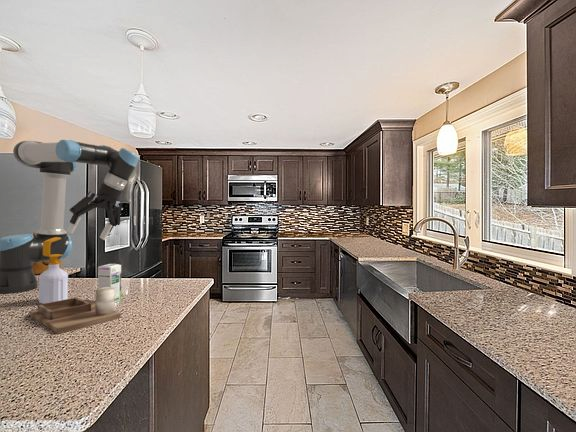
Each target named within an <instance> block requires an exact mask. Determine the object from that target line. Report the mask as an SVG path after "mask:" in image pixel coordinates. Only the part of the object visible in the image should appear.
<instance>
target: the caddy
mask: <svg viewBox="0 0 576 432" xmlns="http://www.w3.org/2000/svg"><path fill="white" fill-rule="evenodd" d="M94 300H95V301H93V300H90V299H88V298H87V299H81V298H79V297H71V298H68V299H66V300H60V301H55V302H50V303H44V304H42V303H39V304H37V309H31V310H28V315H29V316H30V317H31V318H33V319H34V320H36V321H37V322H39V323H40V324H42V325H44V326H45V327H47V328H48V329H49V330H51V331H53V332H54V333H56V334H57V335H60V334H63V333H67V332H72V331H75V330H79V329H82V328H86V327H90V326H94V325H98V324H102V323H105V322H110V321H114V320H116V319H117V320H118V319H121V314H122V313H120V312H118V311H116V310H115V303H116V302H115V288H113V287H103V288H98V287H97V288H96V289H95V299H94ZM114 302H115V303H114Z"/></svg>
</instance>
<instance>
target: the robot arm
mask: <svg viewBox="0 0 576 432" xmlns="http://www.w3.org/2000/svg"><path fill="white" fill-rule="evenodd" d="M12 150H13V151H12V152H13V156H14V158H15V160H16V161H17V162H19V164H21V165H23V166H25V167H29V168H33V169H39V174H41V176H42V177H43V180H42V181H43V183H42V195H41V196H42V200H41V219H40V228H39V229H38V230H37V231H36V232H35V233H36V237H34V236H33V234H31V233H21V234H20V233H19V234H13V235H6V236H3V237H1V238H0V294H11V293H13V294H14V293H21V292H26V291H30V290H34V289H37V288H39V281H38V279H37V277H36V274H34V272H33V263H35V262H43V261H51V259H50V257H47V256H44V255H43V242H44V241H46V240H48V239H51V238H54V237H60V238H61V239H60V240H57V241H54V242H52V243H51V245H50V255H53V254H60V255H63V256H58V259H57V260H59V259H61V260H64V259H66V258H67V257H68V256H69V255H70V253H71V252H72V249H73V240H72V238H71V236H70V235H68V232H69V233H70V234H74V232H75V231H76V229H77V227H78V224H79V223H80V221H81V220H82V217H81V216H82V215H83V216H84V214H86V213H88V212H90V211H91V210H94V209H97V208H99V209H100V208H101V209H103V210H105V211H106V213H107V219H108V222H106V224H105V226H104V227H103V229H102V231H101V233H100V235H99V238H100V239H101V240H103V241H106V239H107V237H108V235H109V233H111V232H112V230H113V229H114V227H117V226H120V225H121V214H122V212H121V211H122V207H123V205H124V204H123V202H121V201H119V198H120V197H121V195H122V190H123V191H124V189H125V187H126V185H127V183H128V182H129V180H130V178H131V176H132V174H133V172H134V170H135V169H136V167H137V166H138V165H137V164H138V162H139V161H140V156H139V154H136V153H134V152H133V151H131V150H129V149H127V148H124V147H120V149H119V151H118V150H117V149H114V148H112V147H111V146H108V145H104V144H102V145H101V144H100V145H97V144H96V145H95V144H89V143H84V142H80V141H75V140H72V139H60V140H59V141H58V142H41V141H36V140H23V141H20V142H18V143H16V144H15V145H14V147H13V149H12ZM78 163H80V164H88V165H95V166H103V167H107V168H108V169H109V170H108V172H107V174H106V175H105V177H104V179H103V183H101V184H100V186H99V189H98V192H97V194H96V193H94V192H92V191H88V193H87V194H86V196H85V197H83V198H82V199H81V200H80V201H78V202H77V203H76V204H74V205H72V206H71V207H70V208H69V212H70V213H72V216H71V218H70V220H69V223H70V224H69V225H68V227H67V229H66V230H65V229H64V226H65V225H64V224H65V210H66V209H65V208H66V206H65V204H66V193H67V192H66V190H67V179H68V178H69V177H71V174H72V173H73V172H75V170H76V168H77V166H78Z"/></svg>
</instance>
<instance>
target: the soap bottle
mask: <svg viewBox="0 0 576 432" xmlns="http://www.w3.org/2000/svg"><path fill="white" fill-rule="evenodd" d="M60 239H61V238H60V237H54V238H51V239H48V240H46V241H44V242H43V255H44V256H47V257H50V259H51V262H50V263H49V268H48V269H47V270H46V271H44V272H43V273H41V274H39V277H38V303H39V304H44V303H50V302H55V301H60V300H66V299H69V297H68V295H69V294H68V293H69V289H68V288H69V274H68V272H67V271H66V270H64V269H62V268H61V269H60V268H59V262H57V259H58V256H63V255H60V254H53V255H50V245H51V243H52V242H54V241H57V240H60Z"/></svg>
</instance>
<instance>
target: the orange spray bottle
mask: <svg viewBox="0 0 576 432" xmlns="http://www.w3.org/2000/svg"><path fill="white" fill-rule="evenodd" d="M32 235H33V236H34V237H36V232H33V234H32ZM50 262H51V261H43V262H35V263H33V272H34V274H35V275H40V274H41V273H43V272H44V271H46V270H47V269H48V268H49V263H50ZM57 262H59V268H60V269H62V259H59V260H57Z"/></svg>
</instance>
